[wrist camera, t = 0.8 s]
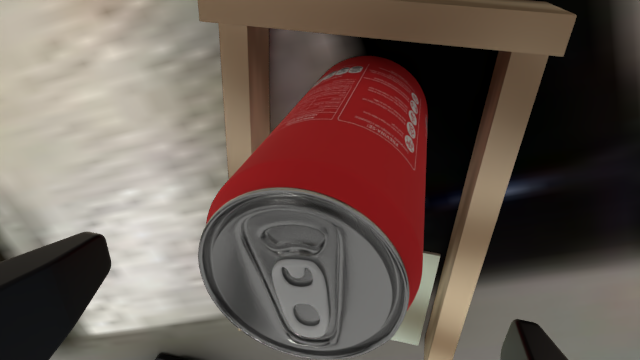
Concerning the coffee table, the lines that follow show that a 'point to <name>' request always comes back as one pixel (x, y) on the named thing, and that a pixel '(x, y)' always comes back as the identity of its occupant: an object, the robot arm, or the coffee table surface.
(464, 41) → the bay
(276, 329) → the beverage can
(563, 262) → the coffee table surface
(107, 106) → the coffee table surface
